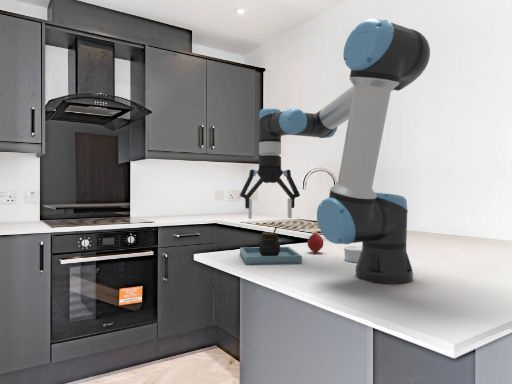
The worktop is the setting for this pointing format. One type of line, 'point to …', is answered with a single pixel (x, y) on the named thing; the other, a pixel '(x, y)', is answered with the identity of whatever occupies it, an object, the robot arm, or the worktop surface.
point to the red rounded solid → (315, 242)
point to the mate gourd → (269, 244)
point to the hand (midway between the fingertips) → (269, 218)
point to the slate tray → (285, 256)
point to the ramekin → (352, 253)
